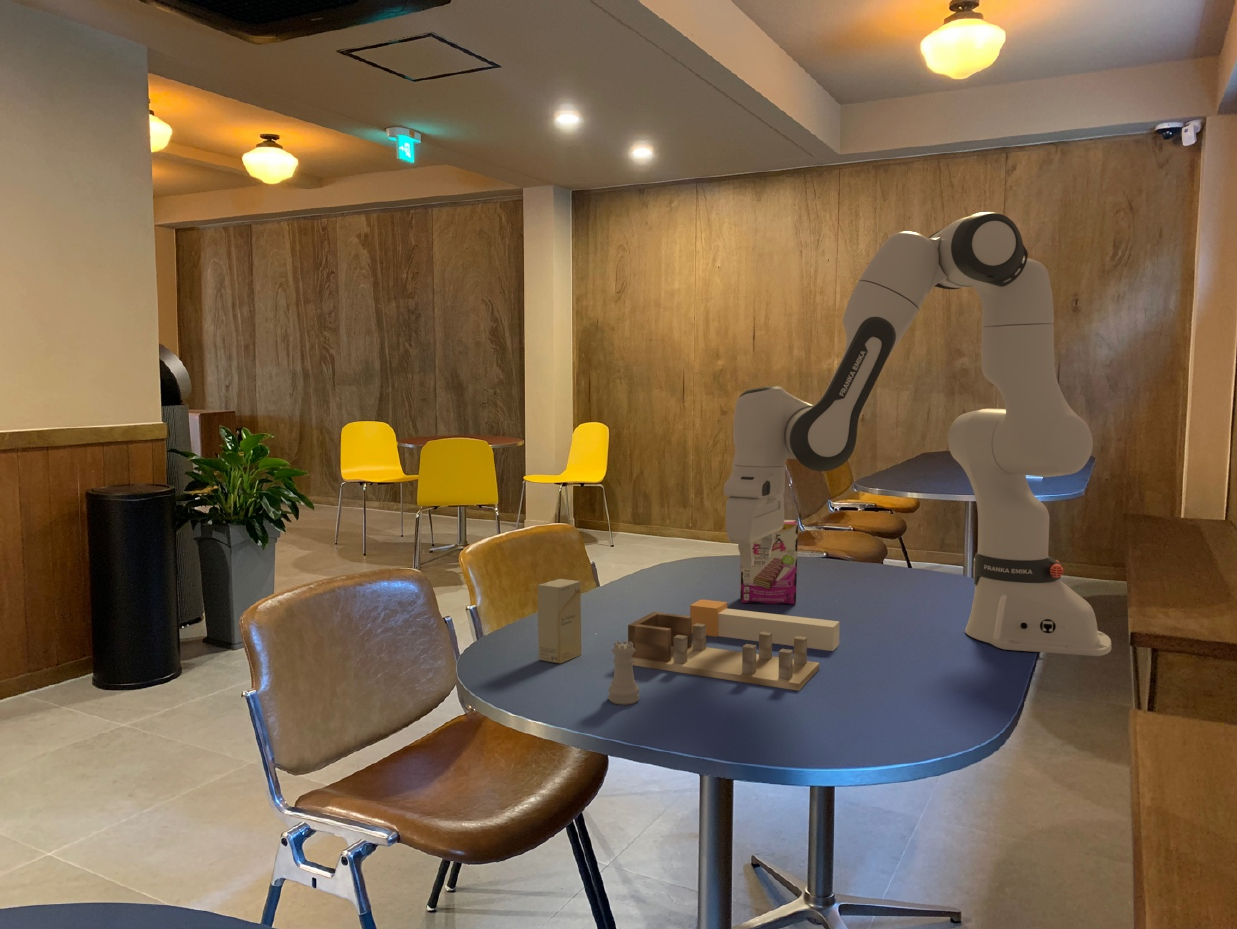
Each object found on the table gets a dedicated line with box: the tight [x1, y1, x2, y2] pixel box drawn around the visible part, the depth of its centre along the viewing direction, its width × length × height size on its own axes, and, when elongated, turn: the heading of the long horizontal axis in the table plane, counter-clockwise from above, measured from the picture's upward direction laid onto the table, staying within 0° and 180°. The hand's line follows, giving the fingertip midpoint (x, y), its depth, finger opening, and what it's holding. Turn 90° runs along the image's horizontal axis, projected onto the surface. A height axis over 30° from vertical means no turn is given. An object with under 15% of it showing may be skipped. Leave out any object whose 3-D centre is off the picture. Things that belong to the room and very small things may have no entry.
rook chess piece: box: [607, 640, 641, 706], centre depth 124 cm, size 4×4×8 cm
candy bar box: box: [739, 519, 799, 605], centre depth 181 cm, size 11×5×16 cm, turn 84°
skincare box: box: [537, 578, 582, 664], centre depth 144 cm, size 6×4×12 cm
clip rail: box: [627, 611, 820, 692], centre depth 139 cm, size 28×11×6 cm, turn 63°
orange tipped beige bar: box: [689, 599, 840, 652], centre depth 155 cm, size 25×5×5 cm, turn 63°
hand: (756, 562), depth 154 cm, fingers open, 8 cm apart
